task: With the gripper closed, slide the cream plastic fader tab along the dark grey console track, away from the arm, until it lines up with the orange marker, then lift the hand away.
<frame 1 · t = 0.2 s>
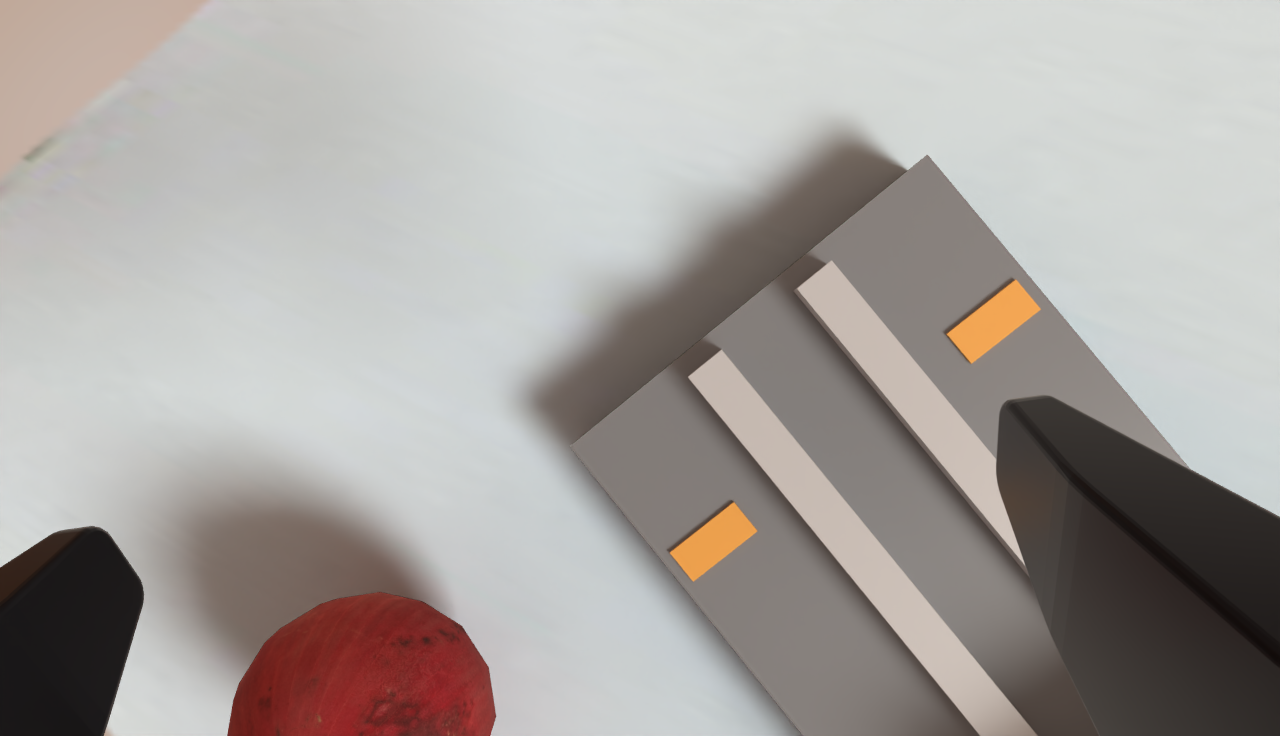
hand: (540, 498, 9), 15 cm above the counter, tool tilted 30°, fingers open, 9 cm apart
onion: (422, 660, 24), on the counter
fader console: (986, 605, 23), on the counter
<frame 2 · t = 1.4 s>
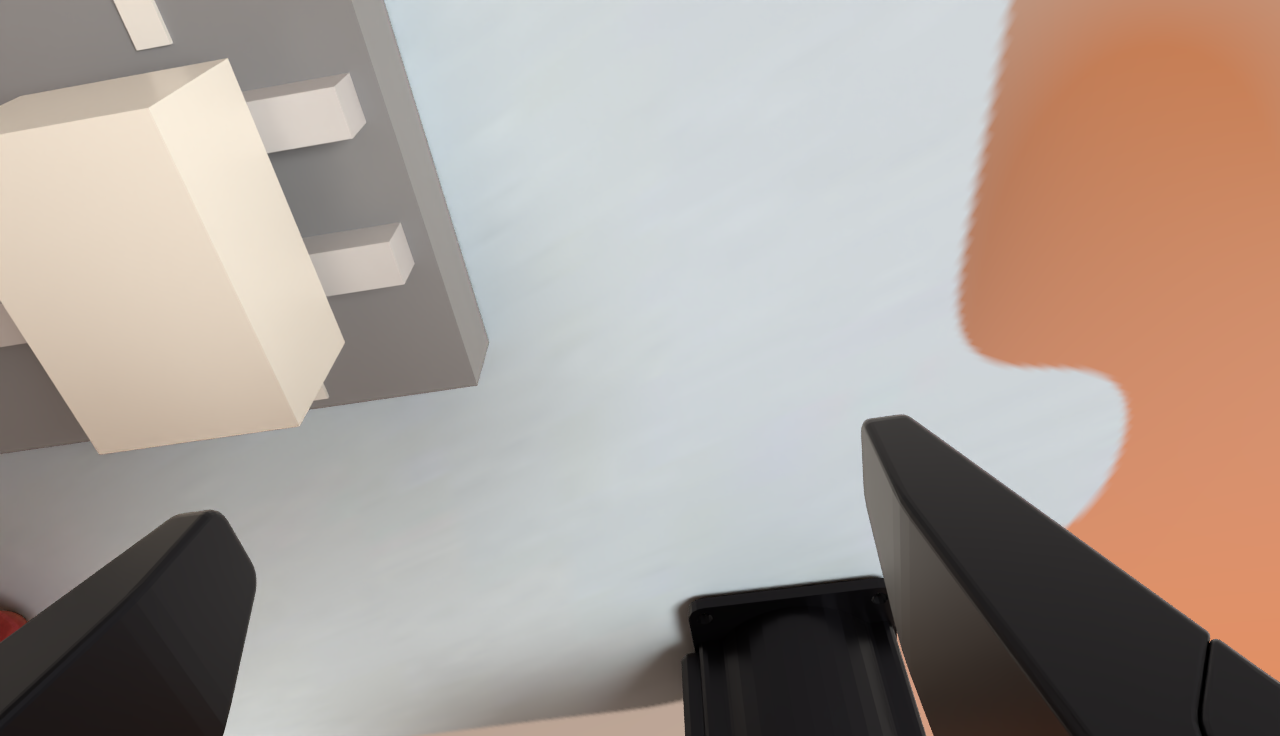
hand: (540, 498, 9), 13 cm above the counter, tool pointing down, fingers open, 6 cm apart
onion: (16, 610, 29), on the counter
fader tab: (175, 248, 17), point 4 cm above the counter, slide at -6.0 cm
fader console: (21, 208, 21), on the counter
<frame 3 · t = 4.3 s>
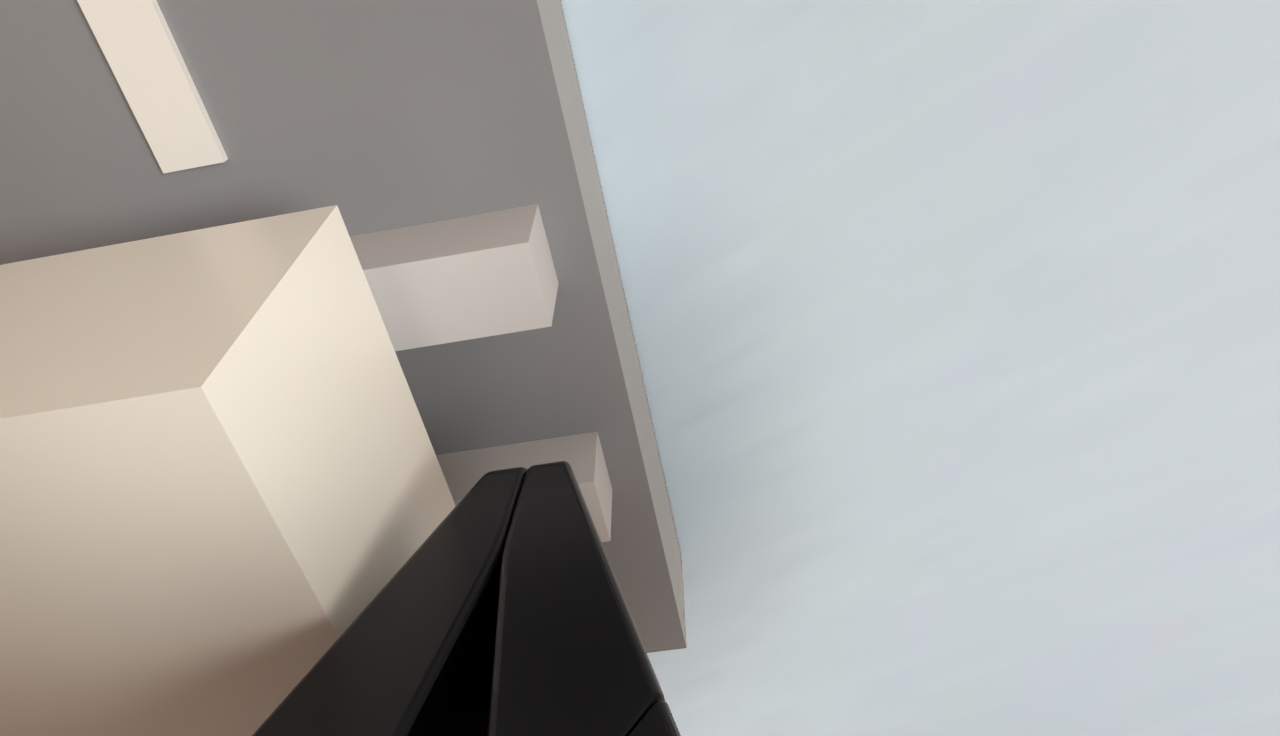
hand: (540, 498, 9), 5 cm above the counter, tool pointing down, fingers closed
fader tab: (235, 536, 9), point 4 cm above the counter, slide at -6.0 cm, touching gripper
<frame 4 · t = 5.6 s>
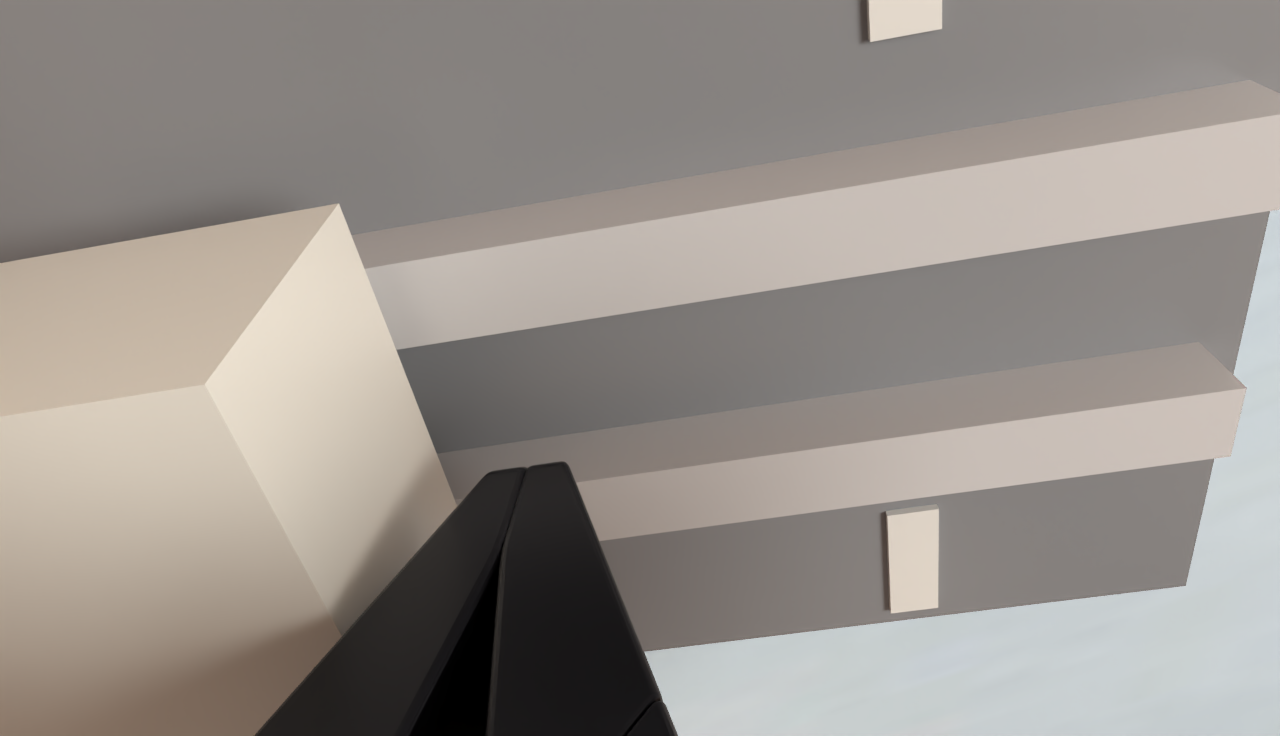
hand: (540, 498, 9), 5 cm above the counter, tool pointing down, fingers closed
fader tab: (236, 534, 9), point 4 cm above the counter, slide at 1.6 cm, touching gripper
fader console: (453, 306, 13), on the counter
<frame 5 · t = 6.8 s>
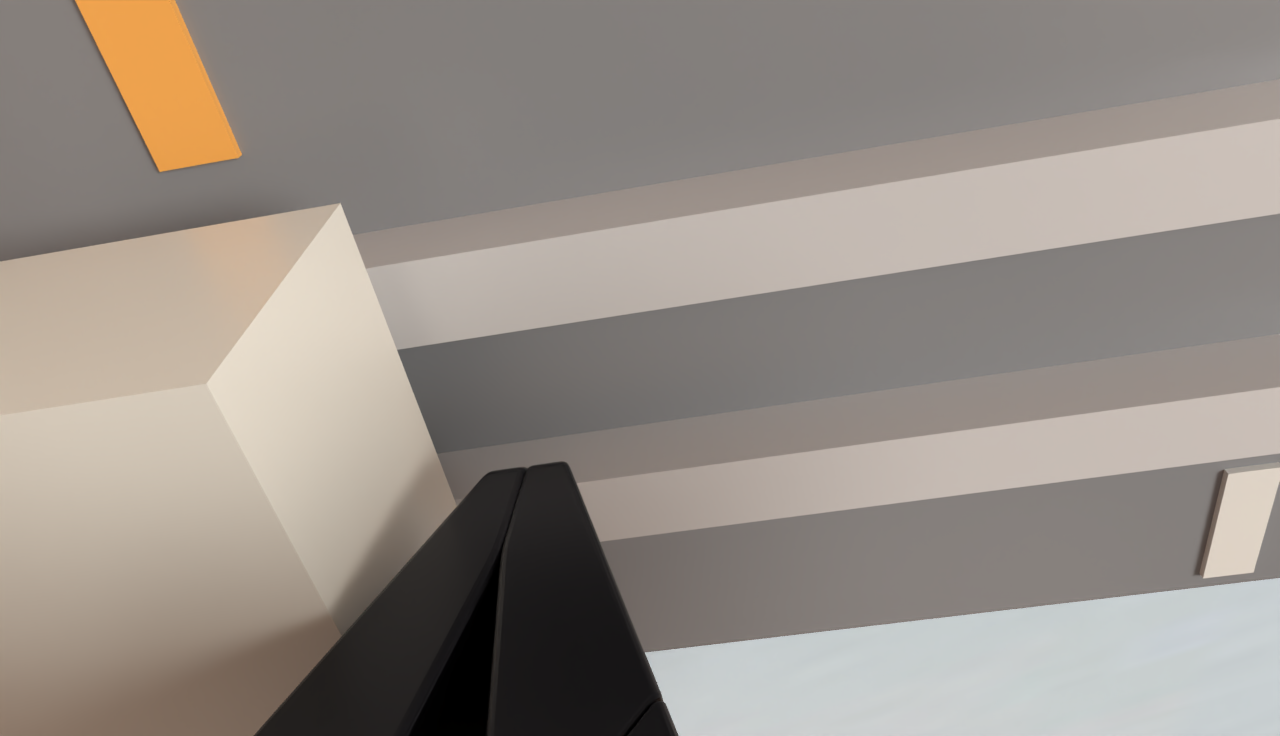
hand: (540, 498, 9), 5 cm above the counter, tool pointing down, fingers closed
fader tab: (235, 533, 9), point 4 cm above the counter, slide at 6.1 cm, touching gripper
fader console: (764, 257, 12), on the counter
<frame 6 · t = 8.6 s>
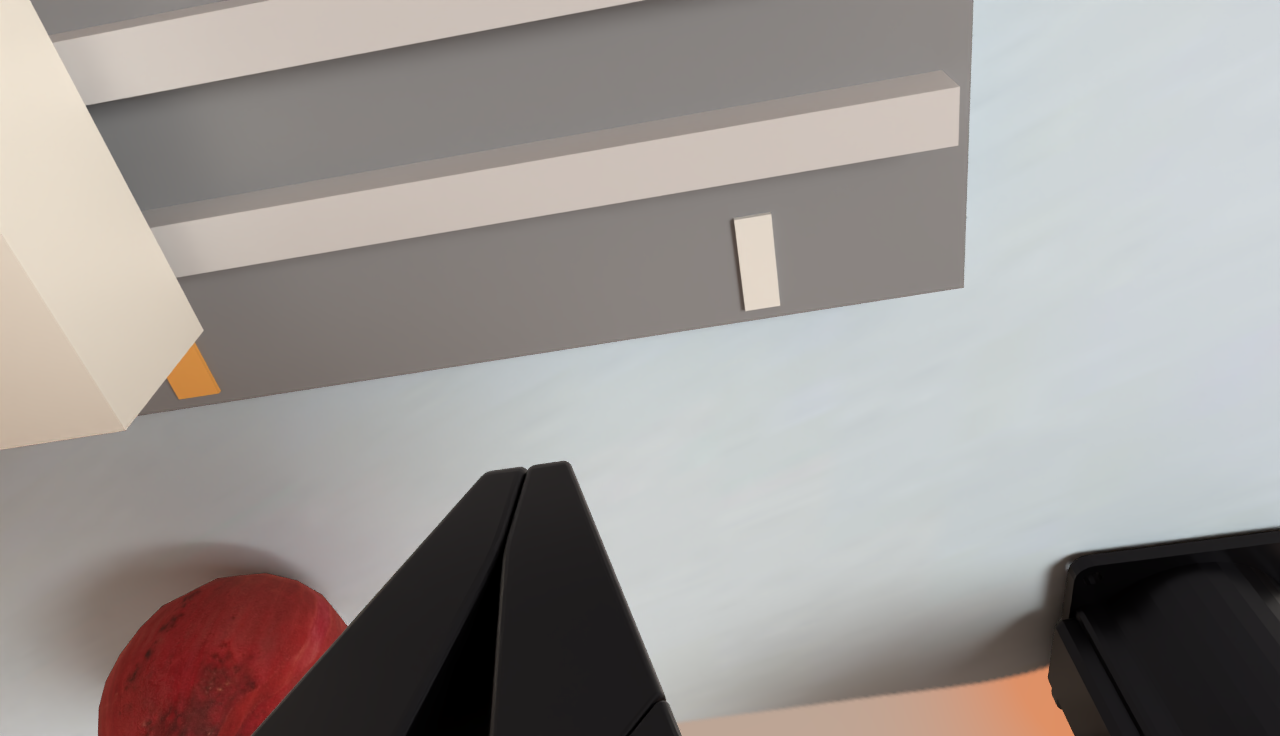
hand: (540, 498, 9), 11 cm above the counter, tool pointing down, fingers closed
onion: (288, 579, 25), on the counter
fader console: (414, 73, 17), on the counter
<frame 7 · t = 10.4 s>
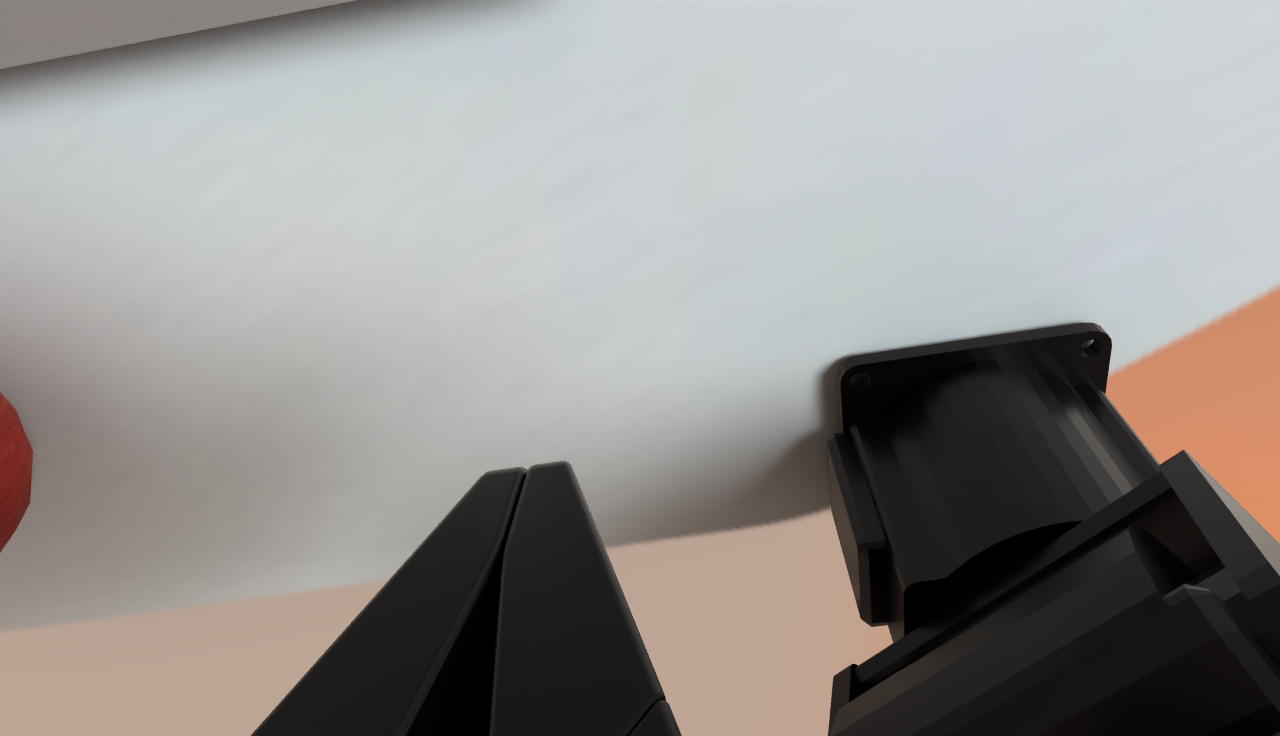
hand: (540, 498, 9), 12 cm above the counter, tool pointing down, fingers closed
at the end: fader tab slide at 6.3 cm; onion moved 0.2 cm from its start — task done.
